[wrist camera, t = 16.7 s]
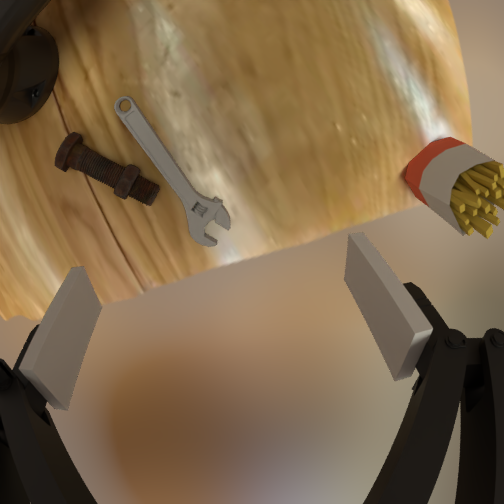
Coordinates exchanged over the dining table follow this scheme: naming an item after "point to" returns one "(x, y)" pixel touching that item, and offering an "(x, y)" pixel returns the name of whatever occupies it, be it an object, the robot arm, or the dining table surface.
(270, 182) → the dining table surface
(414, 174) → the french fries container
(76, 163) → the bolt
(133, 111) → the adjustable wrench
